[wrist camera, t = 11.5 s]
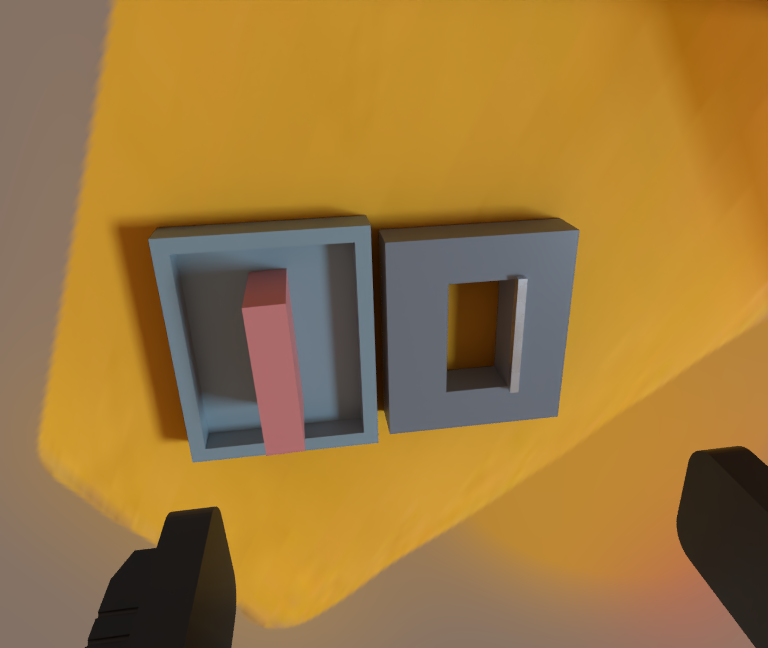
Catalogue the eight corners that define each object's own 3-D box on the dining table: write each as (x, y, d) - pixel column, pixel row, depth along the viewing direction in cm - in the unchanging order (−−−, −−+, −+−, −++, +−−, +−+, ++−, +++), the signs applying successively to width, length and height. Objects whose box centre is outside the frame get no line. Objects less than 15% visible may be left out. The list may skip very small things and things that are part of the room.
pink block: (303, 400, 42) (286, 268, 38) (305, 450, 37) (285, 303, 32) (269, 404, 42) (249, 272, 38) (266, 455, 36) (241, 308, 32)
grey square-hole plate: (559, 218, 40) (583, 232, 37) (541, 395, 46) (560, 421, 42) (378, 229, 38) (386, 245, 35) (384, 410, 44) (391, 439, 41)
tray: (366, 215, 38) (370, 225, 36) (373, 423, 44) (378, 442, 42) (157, 227, 36) (148, 239, 34) (197, 441, 43) (192, 462, 41)
